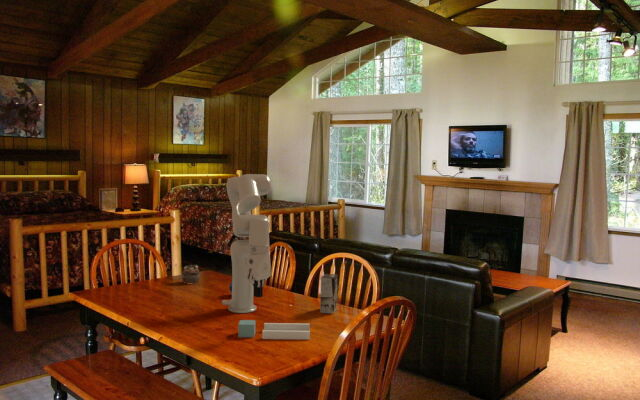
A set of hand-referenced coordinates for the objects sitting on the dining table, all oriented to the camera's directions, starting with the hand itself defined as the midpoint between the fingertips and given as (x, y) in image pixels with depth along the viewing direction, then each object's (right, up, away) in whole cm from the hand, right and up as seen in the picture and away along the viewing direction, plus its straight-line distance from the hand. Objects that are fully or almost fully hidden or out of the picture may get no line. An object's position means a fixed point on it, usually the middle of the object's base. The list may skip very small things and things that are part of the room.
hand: (258, 296), depth 209 cm
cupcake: (-47, -8, +86) cm, 98 cm away
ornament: (-17, -11, +60) cm, 64 cm away
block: (-4, -15, +1) cm, 16 cm away
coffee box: (+28, -13, +37) cm, 48 cm away
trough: (+11, -15, +1) cm, 19 cm away
